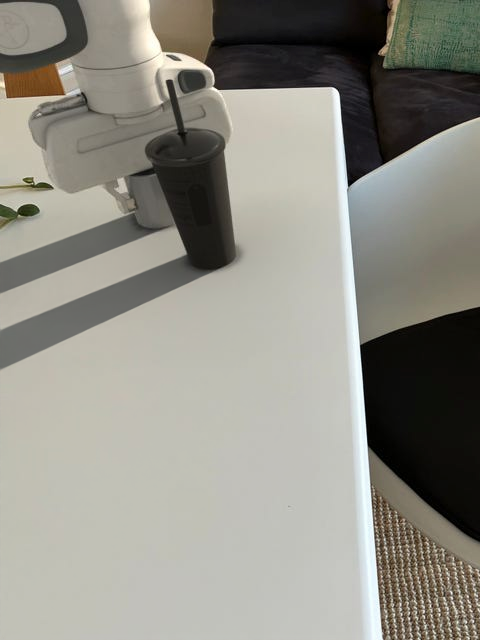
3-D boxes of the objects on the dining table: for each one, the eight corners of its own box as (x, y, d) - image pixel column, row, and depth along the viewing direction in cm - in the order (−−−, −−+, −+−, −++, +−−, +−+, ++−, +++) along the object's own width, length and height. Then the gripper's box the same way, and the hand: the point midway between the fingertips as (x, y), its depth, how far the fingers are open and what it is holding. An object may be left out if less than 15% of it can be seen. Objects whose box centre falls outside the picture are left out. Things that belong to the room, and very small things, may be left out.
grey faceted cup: (133, 233, 90) (115, 178, 85) (143, 208, 94) (126, 154, 90) (185, 230, 90) (170, 175, 86) (192, 205, 95) (178, 152, 90)
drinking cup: (264, 252, 87) (228, 73, 74) (219, 287, 82) (172, 102, 69) (209, 236, 89) (165, 60, 76) (162, 269, 84) (107, 87, 71)
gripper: (33, 118, 74) (80, 242, 83) (226, 67, 85) (249, 181, 94) (10, 99, 78) (58, 220, 87) (198, 52, 89) (223, 164, 98)
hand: (159, 199), depth 91 cm, fingers closed on grey faceted cup, 6 cm apart
